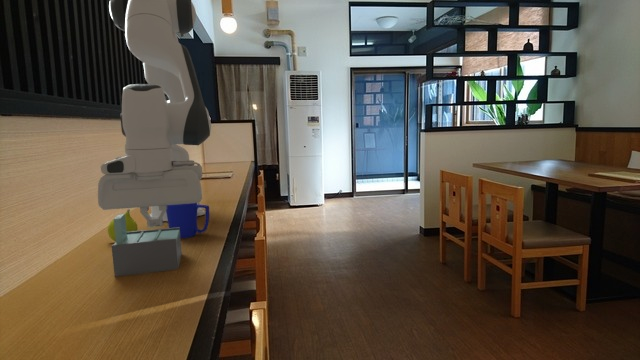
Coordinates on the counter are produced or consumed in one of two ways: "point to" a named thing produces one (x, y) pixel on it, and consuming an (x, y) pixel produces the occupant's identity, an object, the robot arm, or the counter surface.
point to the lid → (139, 237)
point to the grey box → (146, 255)
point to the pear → (130, 225)
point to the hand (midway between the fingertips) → (155, 226)
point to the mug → (186, 218)
